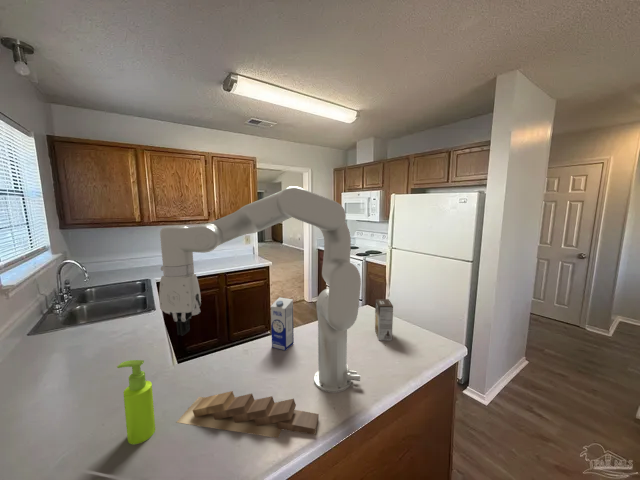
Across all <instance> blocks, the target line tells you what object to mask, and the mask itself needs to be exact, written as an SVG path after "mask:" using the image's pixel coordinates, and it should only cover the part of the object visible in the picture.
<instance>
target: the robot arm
mask: <svg viewBox="0 0 640 480" xmlns="http://www.w3.org/2000/svg"><path fill="white" fill-rule="evenodd" d="M346 217H347V216H346V210H345V208H344V206H343V205H342V204H340V202H337V201H336V200H333V199H330V198H328V197H325V196H322V195H319V194H317V193H315V192H312V191H309V190H307V189H304V188H302V187H300V186H296V185H295V186H292V185H291V186H288V187H286V188H284V189H282V190H280V191H277V192H276V193H273V194H271V195H268V196H265V197H263V198H261V199H258V200H256V201H253V202H250V203H248V204H245V205H243V206H241V207H240V208H239V209H237V210H236V211H234V212H232V213H230V214H227V215H225V216H223V217H220V218H218V219H216V220H213V221H211V222H208V223H206V224H202V225H196V226H191V227H188V226H184V225H180V226H179V225H175V226H165V227H162V228H161V229H160V232H159V235H160V248H161V259H162V266H161V267H160V270H161V271H162V272H163V275H162V276H161V277H160V281H159V294H158V296H159V307H160V308H159V309H160V311H162V312H164V313H165V314H168V315H169V316H171V317H172V318H173V321H174V322H176V323H175V324H176V332H177V333H176V334H177V336H185V335H186V334H188V333H189V332H190V331H191V330H190V329H191V324H190V321H191V319H192V316H196V315H199V314H201V308H200V307H201V305H202V302H201V301H202V299H201V298H202V297H201V289H200V284H199V279H198V277H197V274H196V273H195V268H194V266H195V265H194V253H201V254H202V253H203V254H204V253H205V254H206V253H211V252H212V251H214V250H215V249H217V247H219V246H221V245H222V244H225V243H228V242H230V241H232V240H234V239H236V238H239V237H242V236H245V235H250V234H256V233H259V232H262V231H264V230H266V229H268V228H271V227H273V226H274V225H275V226H276V225H278V224H280V223H281V222H284V221H287V220H290V219H291V218H292V219H295V220H297V221H298V220H299V221H300V222H302V223H306V224H309V225H312V226H314V227H316V228H318V229H319V230H320V232H321V233H322V235H323V242H324V243H323V245H324V246H323V258H322V269H321V277H322V279H323V280H324V282H325V283H326V284H327V285H328V288H325V289H323V290H322V291H321V292H320V293H319V294H318V297H317V298H316V315H317V316H316V317H317V327H318V328H317V335H318V338H317V342H318V344H317V345H318V347H317V348H318V349H317V350H318V351H317V352H318V355H317V357H318V362H317V363H318V366H317V367H318V370H317V371H316V372H315V374H314V376H313V383H314V385H315V387H317V389H319V390H321V391H323V392H326V393H331V394H332V393H334V394H335V393H341V392H344V391H346V390H347V389H348V388H350V386H351V384H352V381H355V382H361V374H357V373H358V370H353V369H352V370H351V369H350V368H349V365H348V363H347V362H348V361H347V360H348V357H347V356H348V343H347V342H348V330H350V328H351V327H353V326H354V324H355V323H356V321H357V318H358V313H359V307H360V295H361V285H362V278H361V274H360V271H359V269H358V268H357V266H356V265H355V264H354V263H352V262H351V246H352V245H351V244H352V243H351V242H352V241H351V233H350V230H349V226H348V225H347V223H346V219H347V218H346Z"/></svg>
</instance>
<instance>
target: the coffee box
mask: <svg viewBox="0 0 640 480" xmlns="http://www.w3.org/2000/svg"><path fill="white" fill-rule="evenodd" d="M374 310H375V311H374V313H375V315H374V332H375V334H377V335H376V337H377V339H378V341H393V323H394V321H393V317H394V305H393V304H392V302H391V300H390V299H389V298H383V299H382V298H380V299H375V309H374Z"/></svg>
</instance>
